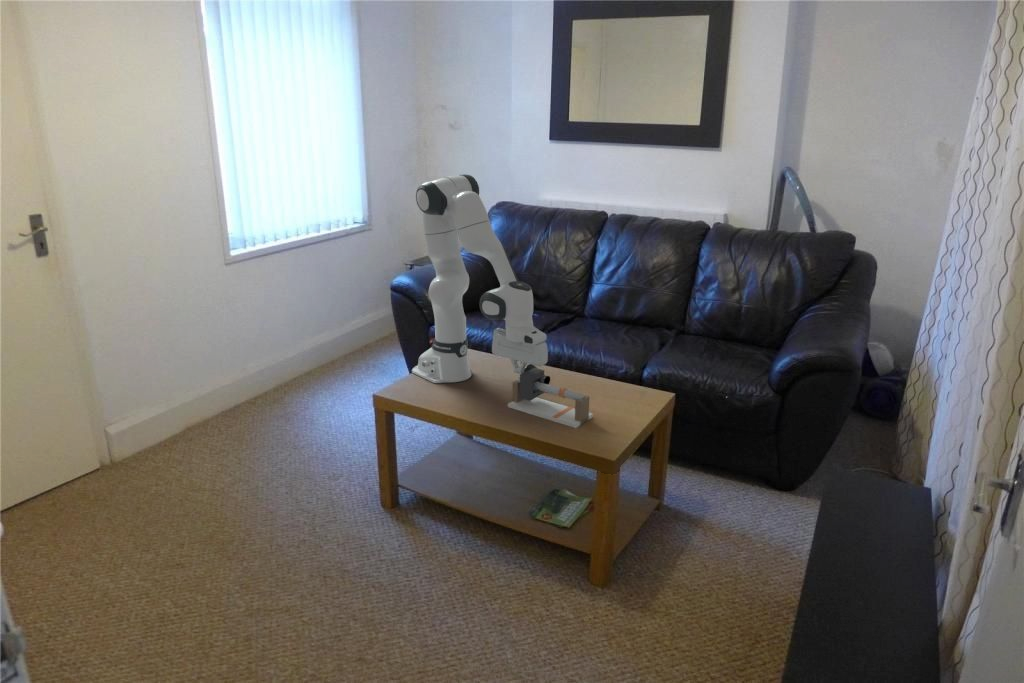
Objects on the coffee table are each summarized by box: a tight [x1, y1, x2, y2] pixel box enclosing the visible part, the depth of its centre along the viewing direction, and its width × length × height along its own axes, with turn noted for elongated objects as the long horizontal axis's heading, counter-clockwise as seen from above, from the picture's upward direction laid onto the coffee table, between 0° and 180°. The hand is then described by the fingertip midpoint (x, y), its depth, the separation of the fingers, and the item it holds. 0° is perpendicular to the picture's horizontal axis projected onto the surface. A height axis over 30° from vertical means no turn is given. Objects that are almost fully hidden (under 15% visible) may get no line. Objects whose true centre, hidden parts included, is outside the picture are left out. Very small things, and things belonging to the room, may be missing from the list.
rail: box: [507, 376, 594, 429], centre depth 225 cm, size 26×10×10 cm, turn 54°
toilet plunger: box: [524, 364, 551, 385], centre depth 243 cm, size 8×18×8 cm
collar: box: [519, 367, 545, 401], centre depth 228 cm, size 4×8×8 cm, turn 144°
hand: (519, 372), depth 230 cm, fingers closed
